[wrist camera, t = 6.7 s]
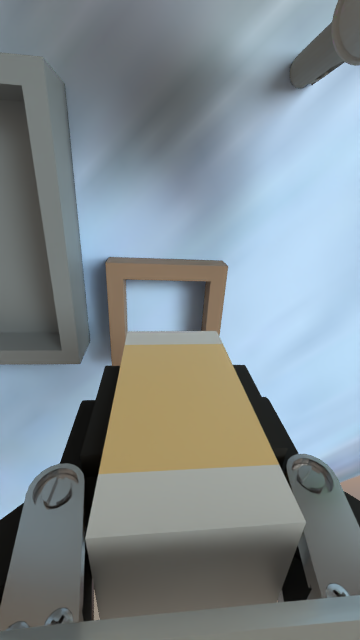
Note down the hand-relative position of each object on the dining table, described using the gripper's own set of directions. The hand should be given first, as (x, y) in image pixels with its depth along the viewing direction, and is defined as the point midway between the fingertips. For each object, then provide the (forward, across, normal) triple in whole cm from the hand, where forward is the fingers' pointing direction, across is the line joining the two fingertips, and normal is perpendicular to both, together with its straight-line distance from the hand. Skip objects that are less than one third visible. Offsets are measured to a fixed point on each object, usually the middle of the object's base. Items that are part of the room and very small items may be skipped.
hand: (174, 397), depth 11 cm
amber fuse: (+2, 0, 0) cm, 2 cm away
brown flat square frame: (+9, 0, 0) cm, 9 cm away
